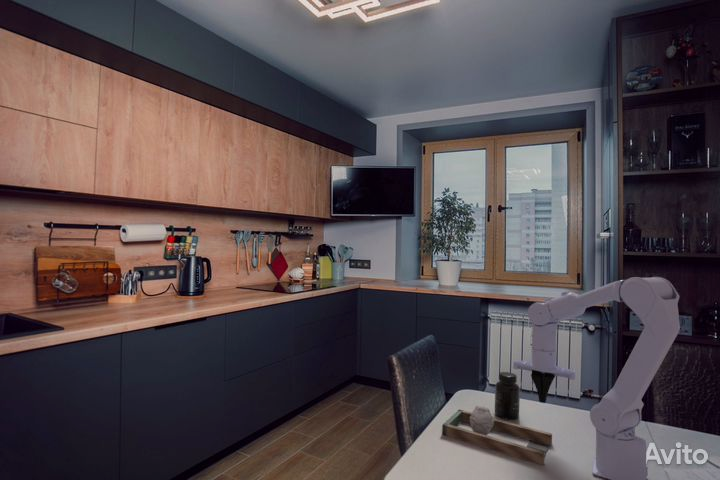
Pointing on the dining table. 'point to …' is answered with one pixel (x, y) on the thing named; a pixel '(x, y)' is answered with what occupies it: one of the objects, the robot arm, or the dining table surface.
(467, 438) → the box
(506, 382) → the supplement bottle
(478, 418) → the white head sculpture
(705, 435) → the dining table surface
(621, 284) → the robot arm
